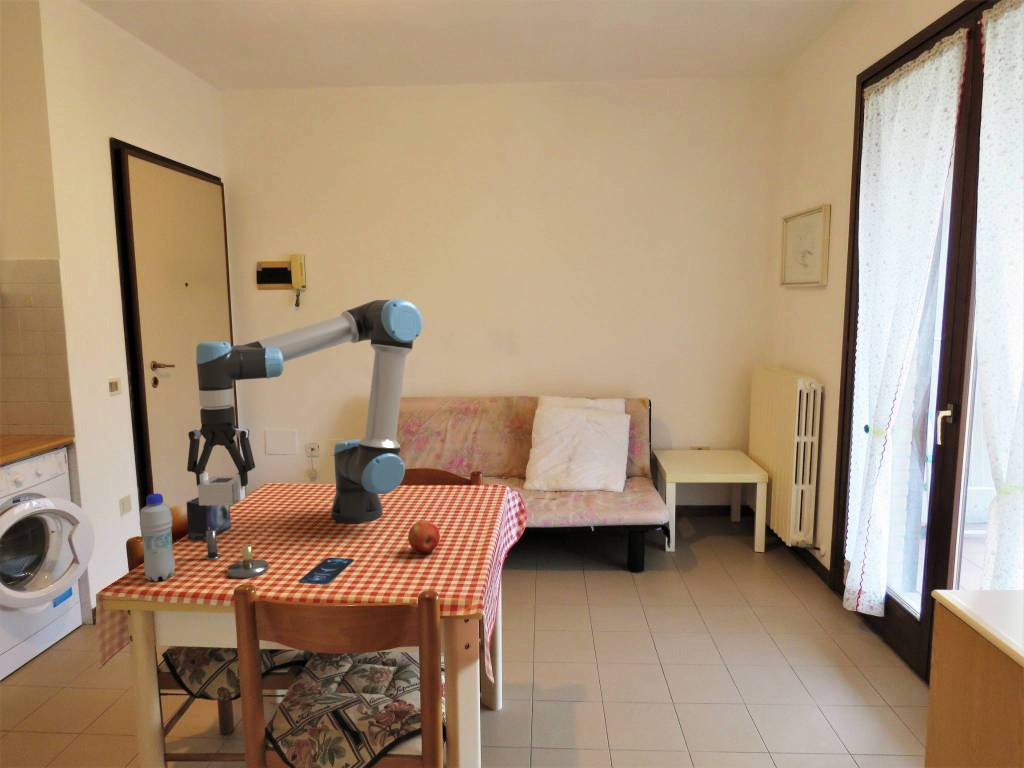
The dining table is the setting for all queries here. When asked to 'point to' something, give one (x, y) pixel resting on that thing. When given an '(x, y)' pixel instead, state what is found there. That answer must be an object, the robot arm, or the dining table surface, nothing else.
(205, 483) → the grey hollow block
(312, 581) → the smartphone
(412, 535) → the apple
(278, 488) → the dining table surface
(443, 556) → the dining table surface
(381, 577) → the dining table surface
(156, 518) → the bottle
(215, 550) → the stand rod
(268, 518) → the dining table surface
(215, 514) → the small box
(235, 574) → the round stand base
